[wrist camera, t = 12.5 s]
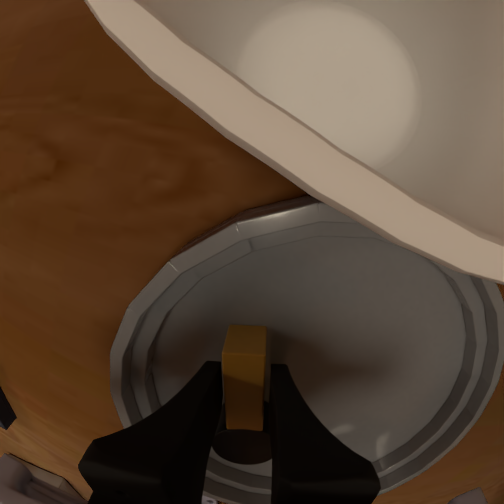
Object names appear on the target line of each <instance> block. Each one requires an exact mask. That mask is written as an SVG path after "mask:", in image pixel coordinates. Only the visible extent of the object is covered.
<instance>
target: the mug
mask: <svg viewBox="0 0 504 504" xmlns="http://www.w3.org/2000/svg"><path fill="white" fill-rule="evenodd" d="M84 1H85V3H86V4H87V6H88V7H89V8H90V10H91V11H92V13H93V14H94V16H95V17H96V19H97V20H98V22H99V23H100V24H101V26H102V27H103V29H104V30H105V32H106V33H107V34H108V35H109V36H110V37H111V38H112V39H113V40H114V41H115V42H116V43H117V44H118V45H119V46H120V47H121V48H122V49H123V50H124V51H125V52H126V53H127V54H128V55H129V56H130V57H131V58H132V59H133V60H134V61H135V62H136V63H137V64H138V65H139V66H140V67H141V68H142V69H143V70H144V71H145V72H146V73H147V74H148V75H149V76H150V77H151V78H152V79H153V80H154V81H155V82H156V83H158V84H159V85H160V86H162V87H163V88H164V89H165V90H167V91H168V92H169V93H171V94H172V95H173V96H175V97H176V98H177V99H178V100H180V101H181V102H182V103H184V104H185V105H186V106H187V107H189V108H190V109H191V110H192V111H194V112H195V113H196V114H197V115H199V116H200V117H201V118H202V119H204V120H205V121H206V122H207V123H209V124H210V125H211V126H212V127H213V128H215V129H216V130H217V131H218V132H219V133H221V134H222V135H223V136H224V137H226V138H227V139H229V140H230V141H232V142H233V143H235V144H236V145H238V146H240V147H241V148H243V149H244V150H246V151H247V152H249V153H250V154H252V155H253V156H255V157H256V158H258V159H259V160H261V161H262V162H264V163H265V164H267V165H268V166H270V167H271V168H273V169H274V170H275V171H277V172H278V173H280V174H281V175H283V176H284V177H286V178H287V179H288V180H290V181H291V182H293V183H294V184H295V185H297V186H298V187H300V188H301V189H302V190H304V191H305V192H307V193H308V194H309V195H311V196H313V197H314V198H316V199H318V200H320V201H322V202H324V203H325V204H327V205H329V206H331V207H333V208H334V209H336V210H338V211H340V212H341V213H343V214H345V215H347V216H348V217H350V218H352V219H353V220H355V221H357V222H359V223H360V224H362V225H364V226H365V227H367V228H369V229H370V230H372V231H374V232H375V233H377V234H379V235H380V236H382V237H384V238H385V239H387V240H389V241H390V242H392V243H394V244H397V245H399V246H401V247H403V248H406V249H408V250H410V251H412V252H415V253H417V254H419V255H421V256H424V257H426V258H428V259H430V260H432V261H434V262H437V263H439V264H441V265H443V266H445V267H447V268H449V269H452V270H454V271H456V272H460V273H463V274H467V275H470V276H474V277H478V278H481V279H485V280H488V281H492V282H495V283H499V284H502V285H504V0H84Z"/></svg>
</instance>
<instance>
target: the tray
mask: <svg viewBox="0 0 504 504" xmlns="http://www.w3.org/2000/svg"><path fill="white" fill-rule="evenodd" d="M15 419H16V416H15V414H14V412H13V411H12V409H11V407H10V405H9V403H8V402H7V400H6V398H5V396H4V394H3V392H2V390H1V388H0V427H2V428H4V429H5V430H7V429H8V427H9V426H10V425H11V424H12V423H13V421H14V420H15Z"/></svg>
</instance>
